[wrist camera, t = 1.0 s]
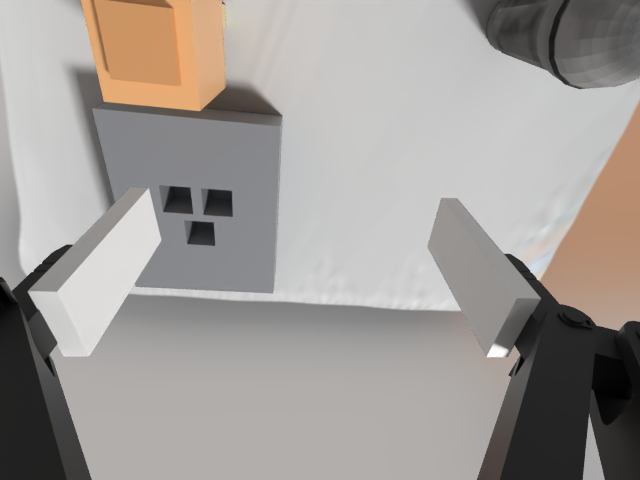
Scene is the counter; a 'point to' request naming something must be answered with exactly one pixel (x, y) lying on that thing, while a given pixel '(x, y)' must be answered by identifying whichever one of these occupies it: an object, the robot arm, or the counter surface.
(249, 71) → the counter surface
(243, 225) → the socket
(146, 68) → the plug
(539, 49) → the beverage cup
